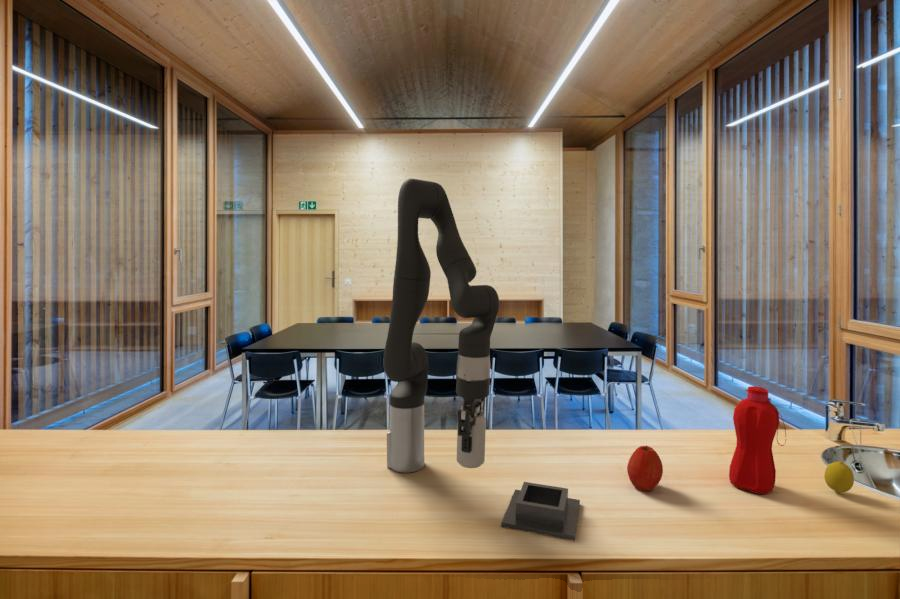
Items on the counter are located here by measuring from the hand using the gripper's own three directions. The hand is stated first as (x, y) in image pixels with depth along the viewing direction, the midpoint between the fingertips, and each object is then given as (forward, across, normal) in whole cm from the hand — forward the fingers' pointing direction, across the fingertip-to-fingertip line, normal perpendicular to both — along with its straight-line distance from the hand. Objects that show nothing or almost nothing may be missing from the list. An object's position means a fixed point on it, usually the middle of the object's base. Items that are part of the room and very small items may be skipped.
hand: (471, 445), depth 111 cm
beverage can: (+4, 0, 0) cm, 4 cm away
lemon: (+12, -34, +82) cm, 90 cm away
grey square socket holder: (+13, 0, +17) cm, 21 cm away
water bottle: (+12, -31, +64) cm, 72 cm away
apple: (+13, -21, +38) cm, 46 cm away
